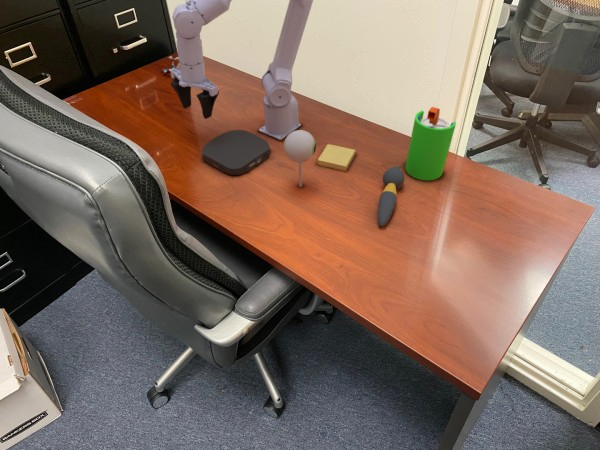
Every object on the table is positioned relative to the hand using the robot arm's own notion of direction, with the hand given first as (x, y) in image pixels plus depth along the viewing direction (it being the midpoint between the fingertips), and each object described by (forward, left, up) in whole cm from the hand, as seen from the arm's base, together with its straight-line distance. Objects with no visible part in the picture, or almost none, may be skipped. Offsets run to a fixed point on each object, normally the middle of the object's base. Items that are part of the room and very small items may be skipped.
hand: (197, 111), depth 114 cm
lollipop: (0, +33, -9) cm, 34 cm away
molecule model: (-21, -36, -9) cm, 43 cm away
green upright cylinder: (-23, +54, -9) cm, 60 cm away
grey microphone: (-8, +53, -9) cm, 54 cm away
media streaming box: (0, +12, -9) cm, 15 cm away
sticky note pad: (-14, +34, -9) cm, 38 cm away
